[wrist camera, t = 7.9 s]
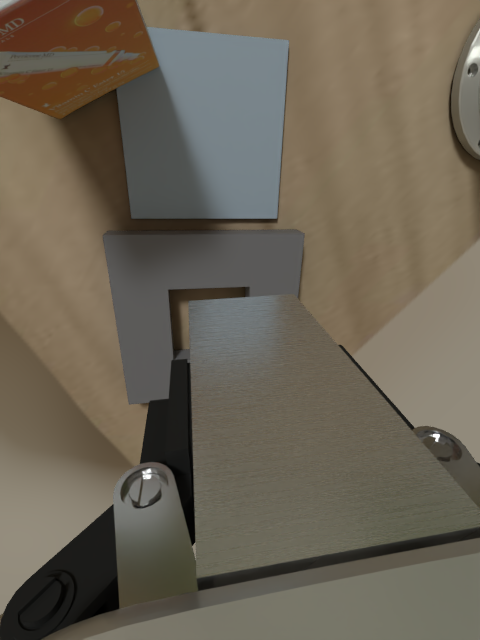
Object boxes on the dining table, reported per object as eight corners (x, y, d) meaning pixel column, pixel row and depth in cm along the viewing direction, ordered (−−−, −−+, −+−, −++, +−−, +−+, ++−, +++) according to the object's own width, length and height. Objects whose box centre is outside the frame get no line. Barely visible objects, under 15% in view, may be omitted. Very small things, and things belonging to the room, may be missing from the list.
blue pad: (287, 42, 23) (288, 40, 22) (275, 217, 28) (277, 218, 27) (110, 25, 21) (108, 23, 20) (132, 217, 26) (131, 218, 26)
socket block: (296, 229, 29) (304, 233, 27) (282, 378, 35) (288, 389, 33) (107, 230, 26) (102, 235, 24) (131, 391, 33) (128, 404, 31)
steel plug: (293, 294, 14) (493, 525, 5) (288, 379, 16) (423, 656, 7) (188, 301, 13) (196, 578, 4) (196, 389, 15) (212, 707, 6)
